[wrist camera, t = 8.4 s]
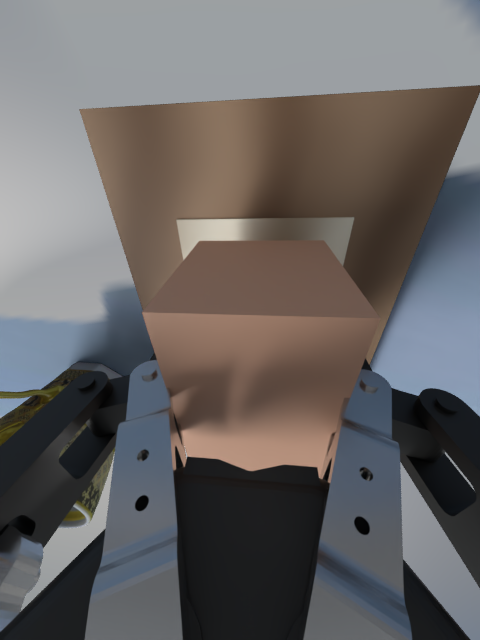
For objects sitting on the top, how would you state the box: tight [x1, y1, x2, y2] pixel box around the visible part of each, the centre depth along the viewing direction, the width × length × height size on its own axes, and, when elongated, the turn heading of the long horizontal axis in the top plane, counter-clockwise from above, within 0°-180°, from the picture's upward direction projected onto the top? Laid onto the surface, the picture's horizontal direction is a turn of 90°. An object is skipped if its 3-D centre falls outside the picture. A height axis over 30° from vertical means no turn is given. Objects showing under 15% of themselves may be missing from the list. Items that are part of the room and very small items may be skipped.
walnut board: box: [80, 85, 480, 365], centre depth 15 cm, size 16×18×2 cm
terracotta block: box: [142, 240, 381, 477], centre depth 10 cm, size 6×8×6 cm
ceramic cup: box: [0, 362, 123, 528], centre depth 19 cm, size 13×10×10 cm
